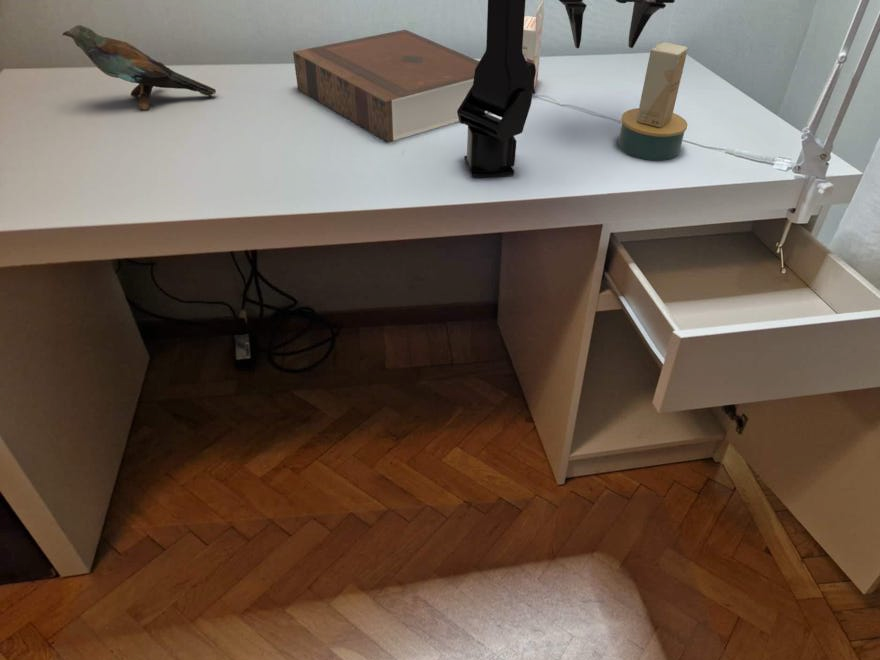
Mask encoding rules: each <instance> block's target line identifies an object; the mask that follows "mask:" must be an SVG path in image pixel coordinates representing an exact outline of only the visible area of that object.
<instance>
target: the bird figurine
mask: <svg viewBox="0 0 880 660" xmlns="http://www.w3.org/2000/svg"><path fill="white" fill-rule="evenodd" d="M62 36H64V37H65V36H66V37H68V38H71V39H72V40H73V41H74V43H75V45H76V46H77V47H78V48H79V49H81V51H82V52H83V53H84V54H85V55H86V56H87V58H89V60H90V61H91V62H92V64H94V66H95V67H96V68H97V69H98V70H99V71H100V72H101V73H103V74H105V75H107V76H108V77H111V78H117V79H121V80H123V81H125V82H129V83H133V84H138V85H136V86H135V87H134V88H133V89H132V90H131V92H130V96H131V97H133V98H135V99H138V102H139V104H138V106H139V108H140V109H141V110H143V111H147V110H148V109H149V107H150V103H151V97H152V91H153V88H161V89H162V88H163V89H177V90H178V89H179V90H188V91H193V92H198V93H200V94H201V95H203V96H207V97H209V98H211V97H213V95H215V94H216V90H217V89H215V88H213V87H211V86H210V85H209V86H208V85H206V84H204V83H202V82H199V81H197V80H195V79H192V78H190V77H188V76H186V75H184V74H183V75H182V74H181V73H178V72H176V71H174V70H173V69H170V68H169V67H167V66H166V65H165V64H164V63H163V62H160V61H157V60H155V59H153V58H152V57H150V56H149V55H148V54H146V53H144V52H143V51H141V50H140V49H138V48H137V47H136V46H135V45H132V44H130V43H129V42H126V41H124V40H119V39H114V38H111V37H107V36H102V35H99V34H97V33H96V32H95V31H94V30H93V29H91V28H90V27H87V26H84V25H82V24H77V25H74V26H73V27H71V28H70V29H68V30H66V31H64V32H63V33H62Z"/></svg>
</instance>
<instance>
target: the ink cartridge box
mask: <svg viewBox="0 0 880 660" xmlns="http://www.w3.org/2000/svg"><path fill="white" fill-rule="evenodd" d="M544 6H545V1H544V0H542V1H541V3H540V4H539V6H538V7H537V9H536V11H535V16H529V15H525V16H524V31H523V46H522V52H523V55H524V58H525V60H526V61H528V62H531V63H534V64H535V67H536V74H535V80H534V89H535V88H536V86H537V83H538V77H539V68H540V59H541V58H540V57H541V48H542V37H543V28H544V18H545V17H544V16H545V15H544V12H545V11H544V8H545V7H544ZM532 95H534V94H533V93H532Z"/></svg>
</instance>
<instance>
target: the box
mask: <svg viewBox="0 0 880 660" xmlns="http://www.w3.org/2000/svg"><path fill="white" fill-rule="evenodd" d="M688 50H689V47H687V46H684V45H680V44H676V43H675V44H674V43H670V42H665V41H663V42H660V43H658V44H657V45H655V46H654V47H652V48H651V49H650V52H649V58H648V62H647V67H646V72H645V76H644V81H643V87H642V93H641V97H640V101H639V107H638V108H639V111H638V116H637V122H640V123H644V124H648V125H652V126H656V127H660V128H661V127H663V126H664V125H665V124H666V123H667V122H669V121H670V120H671V118H672V114H673V113H674V110H675V106H676V101H677V97H678V93H679V88H680V84H681V81H682V75H683V71H684V67H685V63H686V59H687V54H688Z"/></svg>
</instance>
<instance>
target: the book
mask: <svg viewBox="0 0 880 660" xmlns="http://www.w3.org/2000/svg"><path fill="white" fill-rule="evenodd" d="M292 53H293V55H292V56H293V64H294V70H295V71H294V72H295V78H296V86H297V90H298V91H300V92H301V93H303V94H305V95H306V96H308V97H310V98H311V99H313V100H315V101H316V102H319V103H320V104H321V105H324V106H325V107H327V108H329V109H330V110H332V111H334V112H335V113H337V114H339V116H342V117H344V118H345V119H347V120H349V121H351V122H352V123H354V124H356V125H357V126H359V127H361V128H362V129H364V130H365V131H368V132H369V133H371V134H373V135H374V136H375V137H378V139H381V140H382V141H385V142H386V143H391V142H394V141H398V140H401V139H404V138H408V137H411V136H414V135H418V134H421V133H424V132H427V131H431V130H434V129H437V128H441V127H445V126H447V125H448V126H449V125H451V124H455V123H458V122H459V118H458V114H457V110H458V109H459V107H460V105H461V104H462V102H463V100H464V99H465V97H466V95H467V94H468V92H469V91H470V89H471V87H472V86H473V81H474V74H475V68H476V66H477V65H478V63H479V61H480V60H477V59H476V58H473V57H471V56H468V55H465V54H463V53H461V52H459V51H456V50H454V49H452V48H449V47H447V46H444V45H442V44H440V43H437V42H435V41H433V40H430V39H428V38H426V37H423V36H422V35H419V34H417V33H415V32H412V31H410V30H408V29H402V30H396V31H391V32H386V33H382V34H377V35H371V36H366V37H365V36H364V37H360V38H355V39H351V40H346V41H345V40H344V41H340V42H336V43H329V44H325V45H320V46H315V47H310V48H305V49H299V50H295V51H292ZM485 113H487V114H489V112H487V111H485Z"/></svg>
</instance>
